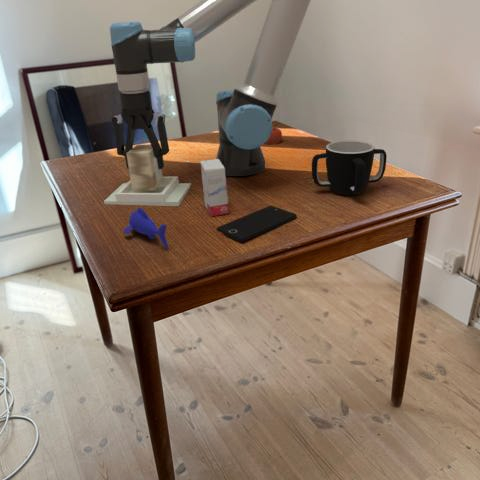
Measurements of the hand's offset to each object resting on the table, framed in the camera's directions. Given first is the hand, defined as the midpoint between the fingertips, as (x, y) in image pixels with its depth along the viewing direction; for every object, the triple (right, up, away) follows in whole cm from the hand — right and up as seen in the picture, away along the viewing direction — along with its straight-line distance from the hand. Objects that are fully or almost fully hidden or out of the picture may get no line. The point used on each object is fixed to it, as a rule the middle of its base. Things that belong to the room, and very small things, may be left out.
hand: (147, 180), depth 127 cm
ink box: (+19, -9, -8) cm, 22 cm away
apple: (+36, +16, +41) cm, 57 cm away
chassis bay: (0, -4, +2) cm, 5 cm away
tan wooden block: (0, -1, +1) cm, 1 cm away
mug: (+53, -3, -1) cm, 54 cm away
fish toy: (+5, -16, -21) cm, 27 cm away
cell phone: (+29, -13, -16) cm, 36 cm away
